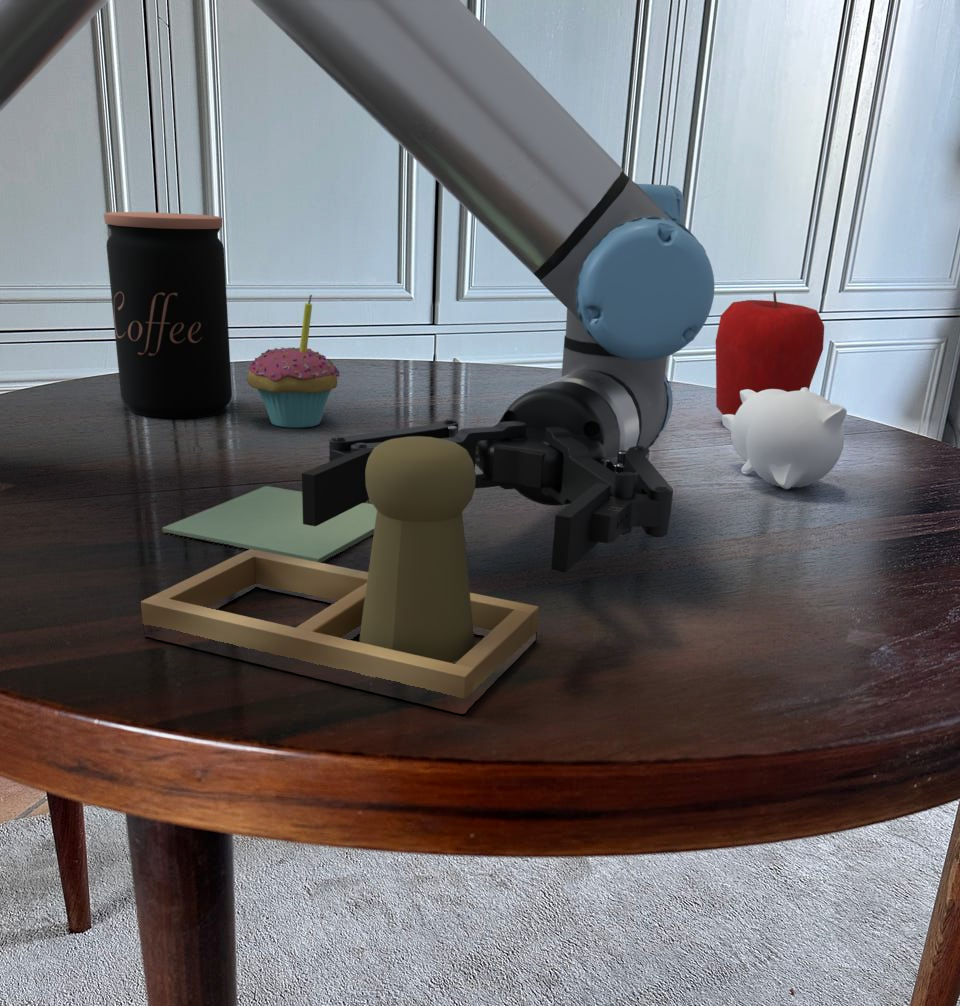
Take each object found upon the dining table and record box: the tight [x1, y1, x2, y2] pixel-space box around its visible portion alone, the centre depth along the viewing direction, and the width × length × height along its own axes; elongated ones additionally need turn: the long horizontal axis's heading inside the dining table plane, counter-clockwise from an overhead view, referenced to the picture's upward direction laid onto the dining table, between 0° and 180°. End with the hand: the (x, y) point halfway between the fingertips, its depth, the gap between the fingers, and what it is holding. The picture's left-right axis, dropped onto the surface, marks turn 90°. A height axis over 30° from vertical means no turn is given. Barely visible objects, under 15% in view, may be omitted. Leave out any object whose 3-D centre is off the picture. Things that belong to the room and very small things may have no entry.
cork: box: [358, 436, 477, 663], centre depth 50 cm, size 6×6×11 cm
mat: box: [161, 485, 377, 563], centre depth 70 cm, size 12×12×1 cm
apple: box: [715, 291, 825, 415], centre depth 105 cm, size 11×10×14 cm
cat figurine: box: [721, 387, 848, 490], centre depth 86 cm, size 9×11×12 cm
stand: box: [140, 549, 540, 698], centre depth 53 cm, size 18×10×2 cm, turn 67°
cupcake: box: [246, 294, 341, 429], centre depth 97 cm, size 9×8×12 cm
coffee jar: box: [103, 211, 233, 419], centre depth 99 cm, size 11×11×18 cm
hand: (428, 521), depth 50 cm, fingers open, 13 cm apart
